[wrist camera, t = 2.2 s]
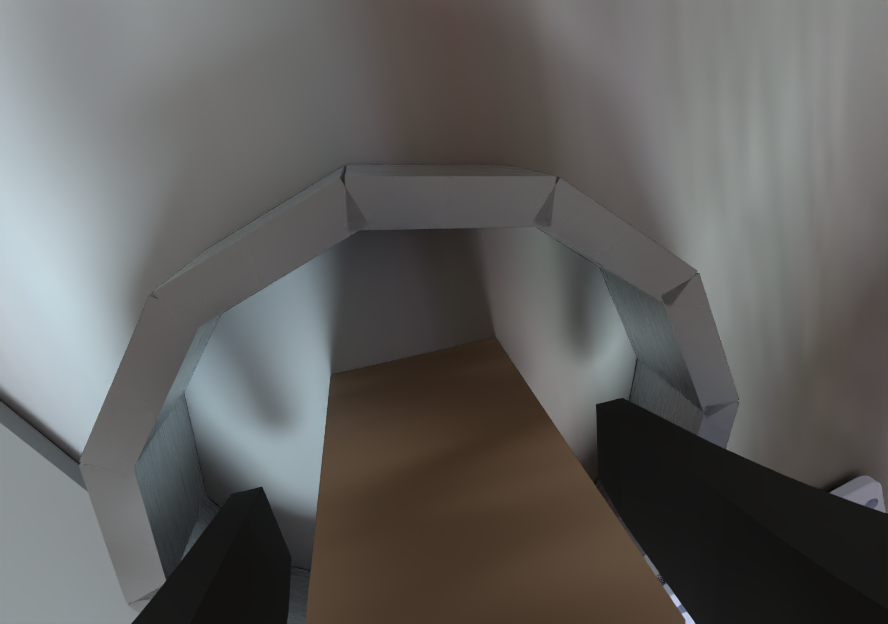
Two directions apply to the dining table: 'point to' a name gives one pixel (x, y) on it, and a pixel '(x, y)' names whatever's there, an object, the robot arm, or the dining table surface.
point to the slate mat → (50, 537)
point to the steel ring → (308, 235)
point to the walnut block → (464, 506)
